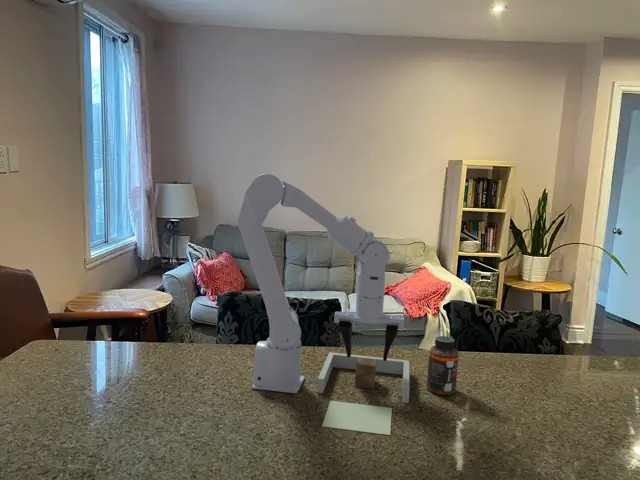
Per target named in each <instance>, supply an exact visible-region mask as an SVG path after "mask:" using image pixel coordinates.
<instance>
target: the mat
mask: <svg viewBox="0 0 640 480" xmlns="http://www.w3.org/2000/svg"><path fill="white" fill-rule="evenodd" d="M392 410H393V408H392V407H385V406H377V405H370V404H363V403H362V404H361V403H360V404H359V403H353V402H345V401H336V400H330V401H329V404H328V407H327V411H326V413H325V416H324V419H323V422H322V425H321V427H322V428H329V429H337V430H346V431H354V432H360V433H367V434H368V433H369V434H375V435H384V436H391V430H392V428H391V427H392V412H393V411H392Z"/></svg>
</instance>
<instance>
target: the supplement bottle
mask: <svg viewBox="0 0 640 480" xmlns="http://www.w3.org/2000/svg"><path fill="white" fill-rule="evenodd" d="M455 346H456V340H455V339H454V338H452V337H451V336H447V335H446V336H445V335H438V336H436V337H435V338H434V345H432V346H431V347H430V349H429V352H428V364H427V365H428V366H427V379H426V388H427V390H428V391H430V392H431V393H433V394H436V395H440V396H451V395H452V394H454V393H455V392H456V389H457V380H458V379H457V377H458V364H459V351H458V350H457V349H456V348H455Z"/></svg>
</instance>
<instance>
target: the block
mask: <svg viewBox="0 0 640 480" xmlns="http://www.w3.org/2000/svg"><path fill="white" fill-rule="evenodd" d="M375 371H376V359H369V358H360V357H358V359H357V363H356V369H355V374H354V375H355V377H354V379H355V380H354V387H355V386H356V388H363V387H365V389H374V390H375V382H376V372H375Z"/></svg>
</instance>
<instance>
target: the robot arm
mask: <svg viewBox="0 0 640 480" xmlns="http://www.w3.org/2000/svg"><path fill="white" fill-rule="evenodd" d="M279 203H280V205H281V207H287V208H288V207H289V208H295V209H298V211H300V212H302V213H303V214H304V215H306V216H307V217H309V218H310V219H311V220H314V221H315V222H316V223H318V224H320V225H321V226H322V227H324V228H325V229H326V231H327V237H328V239H329V240H330V241H332V242H333V243H335V244H337V245H338V246H339V247H341V248H342V249H343V250H344V251H346V252H347V253H348V254H350V255H351V256H355V257H356V258H357V259H358V272H357V276H356V277H357V280H356V300H355V301H356V302H355V311H335V312H334V317H333V318H334V319H333V323H335V324H339V325H338V330H339V333H340V335H341V337H342V339H343V343H344V346H345V351H346V354H347V357H350V356H351V355H352V331H353V324H357V325H358V324H359V325H368V326H369V325H370V326H378V327H379V326H380V327H385V335H384V337H385V339H384V349H383V356H382V358H383V361H387V358H388V354H389V351H390V348H391V346H392V344H393V342H394V340H395V339H396V337H397V335H398V334H399V330H400V329H404V327H405V326H404V325H405V317H403V316H396V315H390V314H384V300H385V299H384V298H385V281H386V274H385V273H386V265H387V264H388V263H389V261H390V258H391V254H389V248H388V247H387V245H386V244H385V243H384V242H382V241H381V240H380V239H378V238H377V237H376V236H375V235H374V234H375V233H374V232H373V231H367V230H366V229H364V228H363V227H362V226H360V225H359V224H357V223H356V222H357V219H355V217H353V216H351V215H350V216H349V217H348V216H346V215H345V214H344V215H339V216H337V215H334V214H333V213H332V212H331V211H329V210H328V209H326V208H325V207H323V205H321V204H320V203H319V202H317V201H316V200H314V199H313V198H312V197H311V196H309V195H308V194H307V193H306V192H304V191H303V190H301V189H300V188H298V187H296V186H294V185H292V184H290V183H288V182H286V181H284V180H280V178H279V177H277V176H276V175H274V174H271V173H263V174H259V175H258V176H257V177H255V179H253V181H252V183H251V184H250V185H249V186H248V187H247V189H246V191H245V195H244V198H243V201H242V205H241V208H240V210H239V214H238V218H237V226H238V228H239V231H240V235H241V238H242V241H243V243H244V246H245V249H246V253H247V255H248V258H249V261H250V264H251V267H252V270H253V273H254V275H255V278H256V281H257V285H258V288H259V290H260V294H261V297H262V299H263V303H264V305H265V310H266V313H267V317H268V323H269V324H268V325H269V337H268V338H266V340H260V341H257V343H256V346H255V350H254V355H253V356H254V357H253V378H252V379H253V381H252V382H253V384H252V389H253V390H263V391H273V392H281V393H288V394H298V392H299V391H300V388H301V387H302V385H303V383H304V380H305V375H301V362H302V361H301V358H302V356H301V355H302V354H301V353H302V340H301V337H302V329H301V326H300V323H299V316H298V314H297V312H296V311H295V310H294V309H293V308H292V307H291V305H290V303H289V301H288V298H287V296H286V293H285V290H284V286H283V283H282V281H281V278H280V275H279V272H278V268H277V266H276V265H277V264H276V263H275V259H274V256H273V254H272V250H271V248H270V245H269V242H268V238H267V236H266V232H265V229H264V227H263V226H264V225H263V224H264V222H265V220H266V219H267V217H268V215H269V212H270V211H271V210H272V209H273V208H274V209H275V207H276V206H277V205H278V204H279Z"/></svg>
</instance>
